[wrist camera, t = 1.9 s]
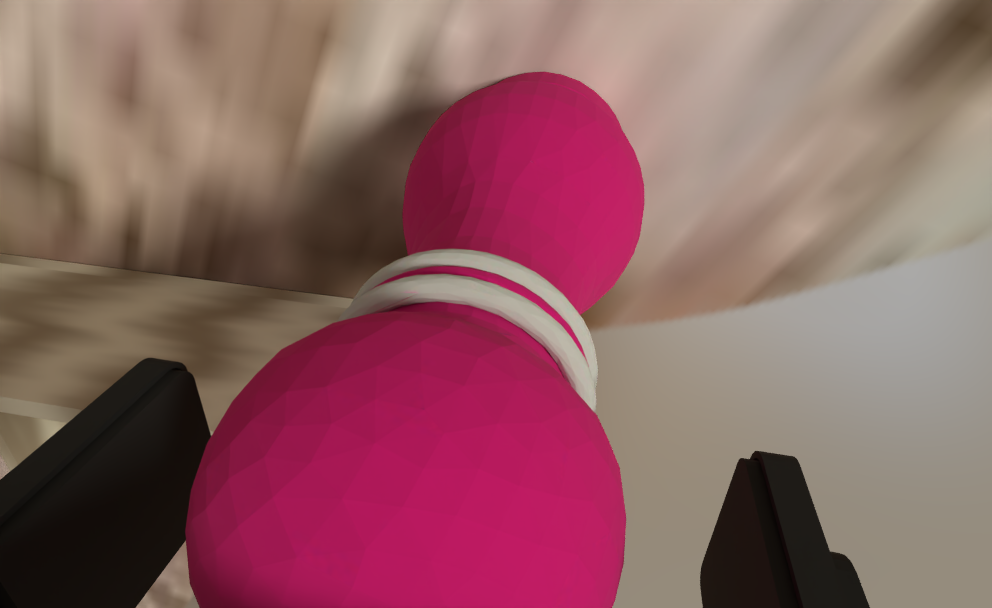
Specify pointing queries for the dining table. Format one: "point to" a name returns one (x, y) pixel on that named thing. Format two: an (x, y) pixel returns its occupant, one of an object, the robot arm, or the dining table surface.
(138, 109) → the dining table surface
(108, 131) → the dining table surface
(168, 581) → the dining table surface
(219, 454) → the pepper mill
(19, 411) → the rack
